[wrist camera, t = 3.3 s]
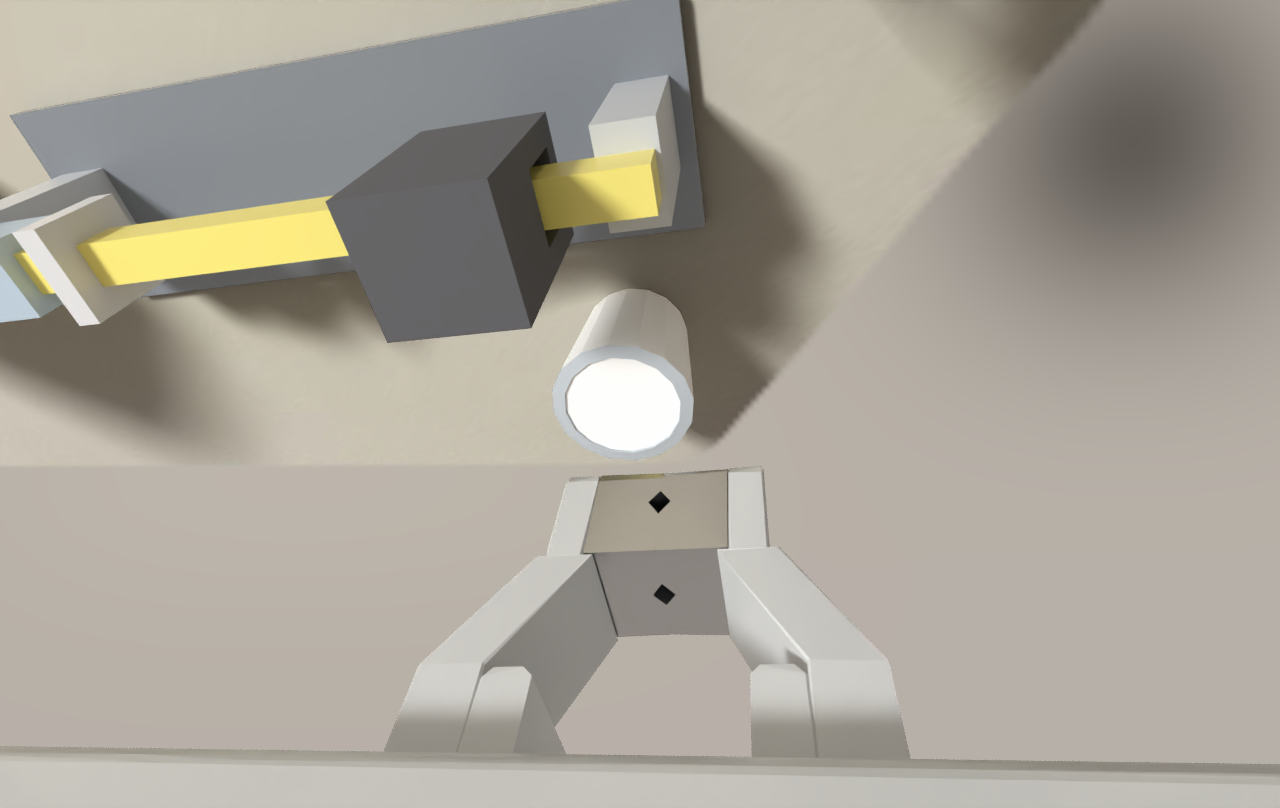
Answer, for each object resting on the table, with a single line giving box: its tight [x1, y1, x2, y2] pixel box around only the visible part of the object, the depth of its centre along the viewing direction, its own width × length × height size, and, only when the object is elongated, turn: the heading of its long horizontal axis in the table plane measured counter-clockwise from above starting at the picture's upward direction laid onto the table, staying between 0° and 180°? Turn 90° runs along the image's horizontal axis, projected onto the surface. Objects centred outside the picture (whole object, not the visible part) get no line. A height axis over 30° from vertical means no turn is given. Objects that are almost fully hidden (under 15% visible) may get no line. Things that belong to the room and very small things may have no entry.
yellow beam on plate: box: [0, 0, 705, 326], centre depth 29 cm, size 33×10×11 cm, turn 100°
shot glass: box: [552, 289, 694, 460], centre depth 35 cm, size 7×7×7 cm
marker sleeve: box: [326, 111, 574, 343], centre depth 24 cm, size 5×5×8 cm
